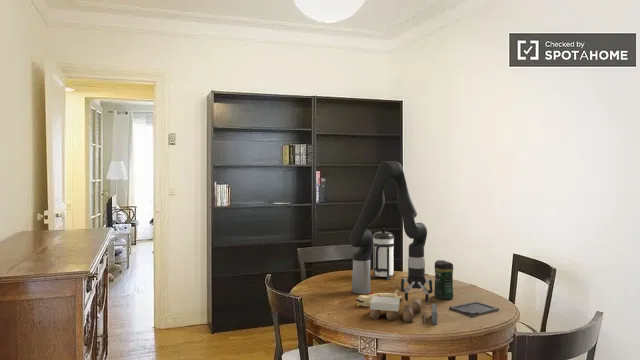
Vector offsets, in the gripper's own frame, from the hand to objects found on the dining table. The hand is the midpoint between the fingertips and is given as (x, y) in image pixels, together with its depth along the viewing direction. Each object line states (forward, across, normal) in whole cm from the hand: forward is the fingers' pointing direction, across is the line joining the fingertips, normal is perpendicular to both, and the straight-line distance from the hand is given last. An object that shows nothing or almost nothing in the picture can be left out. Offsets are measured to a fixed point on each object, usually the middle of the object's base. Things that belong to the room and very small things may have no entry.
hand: (416, 301), depth 206 cm
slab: (0, -13, -13) cm, 18 cm away
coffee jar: (+4, +13, +24) cm, 28 cm away
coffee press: (+3, -21, +59) cm, 63 cm away
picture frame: (+5, +26, +6) cm, 27 cm away
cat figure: (+4, -18, +6) cm, 19 cm away
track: (+4, -8, -13) cm, 15 cm away
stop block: (+4, +8, -13) cm, 15 cm away
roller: (+4, 0, 0) cm, 4 cm away
